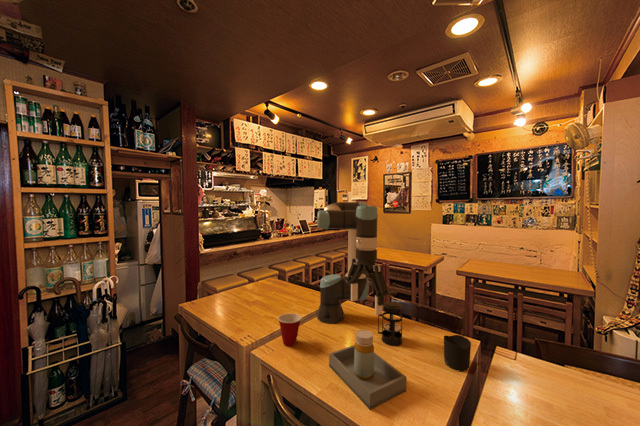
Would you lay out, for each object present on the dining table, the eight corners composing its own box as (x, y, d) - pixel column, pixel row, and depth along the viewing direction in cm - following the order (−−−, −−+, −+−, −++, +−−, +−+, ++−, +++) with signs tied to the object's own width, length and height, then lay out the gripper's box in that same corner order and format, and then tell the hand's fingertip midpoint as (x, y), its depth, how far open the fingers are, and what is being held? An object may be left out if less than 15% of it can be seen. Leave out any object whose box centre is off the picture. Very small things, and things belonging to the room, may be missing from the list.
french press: (402, 336, 120) (403, 289, 120) (405, 347, 111) (406, 296, 111) (377, 334, 123) (378, 287, 122) (378, 344, 114) (378, 294, 113)
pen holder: (445, 354, 106) (446, 331, 106) (471, 363, 101) (471, 338, 100) (441, 366, 99) (441, 341, 98) (469, 375, 93) (469, 349, 93)
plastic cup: (303, 337, 120) (303, 312, 119) (299, 350, 109) (299, 322, 108) (281, 335, 121) (281, 311, 120) (274, 348, 110) (274, 321, 110)
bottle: (371, 382, 88) (372, 340, 87) (352, 377, 90) (352, 336, 90) (374, 370, 94) (375, 331, 94) (356, 365, 97) (357, 327, 96)
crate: (361, 354, 106) (361, 342, 106) (406, 391, 85) (406, 376, 85) (329, 366, 98) (329, 353, 98) (369, 409, 77) (369, 393, 77)
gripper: (338, 244, 99) (337, 297, 100) (383, 255, 78) (382, 323, 78) (353, 242, 103) (353, 294, 104) (400, 253, 81) (399, 318, 82)
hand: (365, 306), depth 91 cm, fingers open, 13 cm apart
